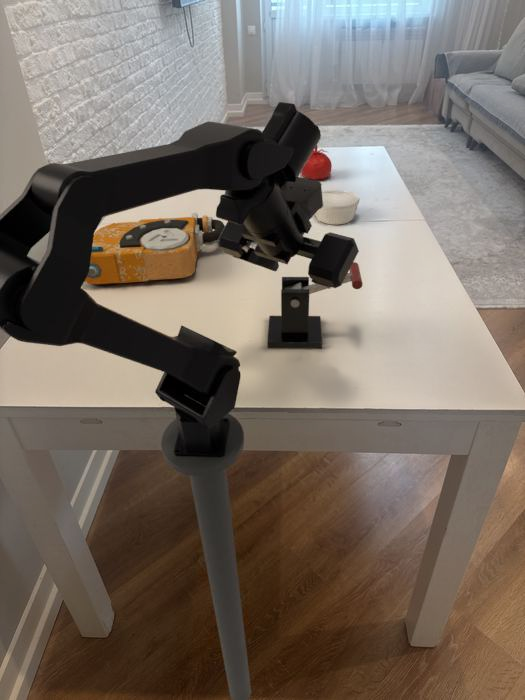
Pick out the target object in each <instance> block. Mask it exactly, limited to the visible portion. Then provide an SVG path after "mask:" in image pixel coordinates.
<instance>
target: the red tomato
mask: <svg viewBox="0 0 525 700" xmlns="http://www.w3.org/2000/svg"><path fill="white" fill-rule="evenodd" d="M325 153H328V151H327V150H325V149H322V148H321V149H319V150H318V145H317V146H316V147H315V149H314V151H313V152H312V154H311V156H310V157H309V159H308V161H307V162H306V164H305V166H304V168H303V169H302V171H301V173H300V175H301V176H302V177H303V178H305V179H310V180H315V181H319V180H324V179H326V178H328V177H329V176H330V175H331V173H332V167H333V166H332V165H333V164H332V160H331V159H330V158H329V156H328V155H327V154H325Z"/></svg>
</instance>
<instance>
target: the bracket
mask: <svg viewBox="0 0 525 700" xmlns="http://www.w3.org/2000/svg"><path fill="white" fill-rule="evenodd" d="M300 282H301V284H302V286H303V287H305V286H309V285H310V276H282V277H281V289H280V306H281V307H280V312H281V313H280V315H269V318H268V329H267V341H266V344H267V345H266V346H267V349H323V334H322V321H321V318H322V317H321V315H310V294H309V289H285V287H287V286H291V285H294V284H297V283H300Z"/></svg>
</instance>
